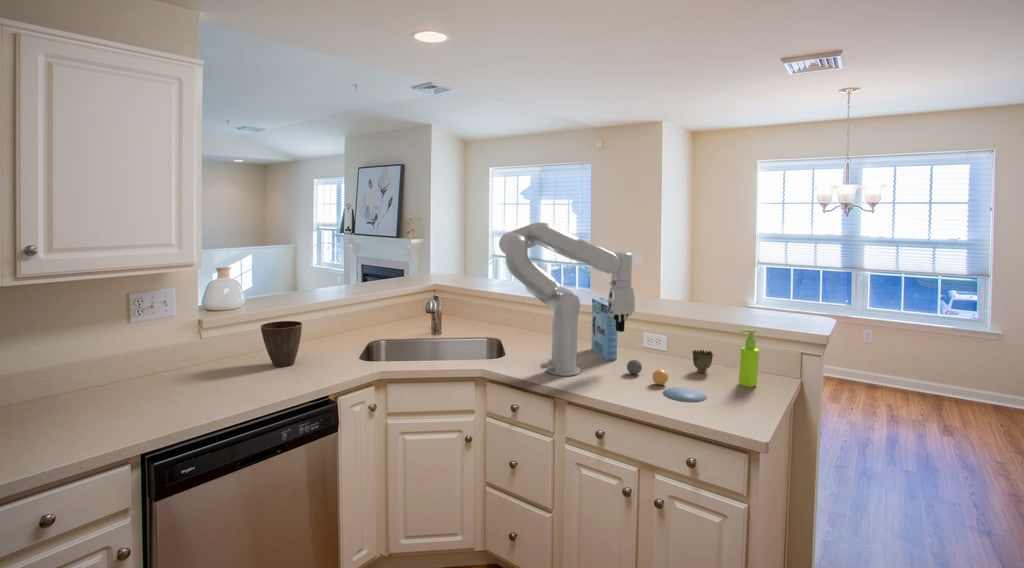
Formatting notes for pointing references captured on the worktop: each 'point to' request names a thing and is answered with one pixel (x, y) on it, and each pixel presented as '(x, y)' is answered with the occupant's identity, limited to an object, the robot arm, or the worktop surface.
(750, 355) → the soap dispenser
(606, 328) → the gum box
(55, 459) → the worktop surface
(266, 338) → the plant pot
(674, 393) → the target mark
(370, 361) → the worktop surface
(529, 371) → the worktop surface
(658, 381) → the object ball
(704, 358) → the cup
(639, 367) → the grey sphere
